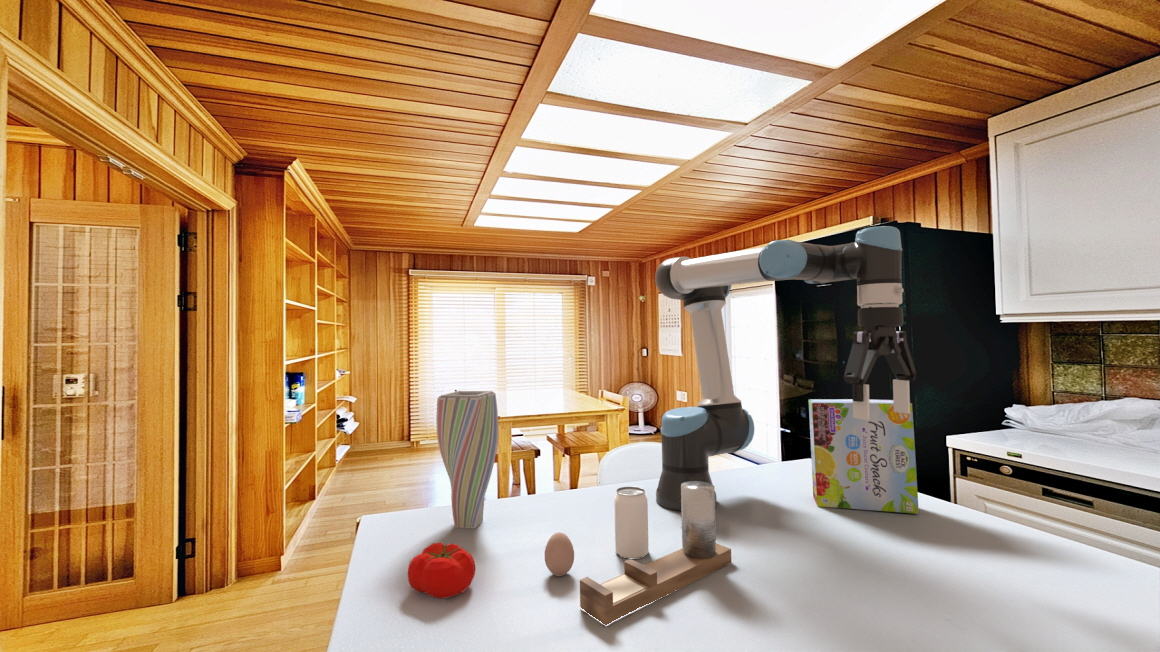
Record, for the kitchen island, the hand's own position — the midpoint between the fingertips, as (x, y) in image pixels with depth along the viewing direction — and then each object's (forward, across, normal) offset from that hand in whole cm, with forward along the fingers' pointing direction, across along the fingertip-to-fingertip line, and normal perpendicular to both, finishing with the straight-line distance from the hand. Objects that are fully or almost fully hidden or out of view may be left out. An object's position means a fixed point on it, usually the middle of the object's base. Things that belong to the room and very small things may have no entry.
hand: (882, 415), depth 93 cm
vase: (+27, -66, +56) cm, 91 cm away
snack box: (+26, +20, +17) cm, 37 cm away
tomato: (+27, -78, +29) cm, 88 cm away
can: (+26, -43, +24) cm, 56 cm away
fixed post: (+24, -35, +13) cm, 44 cm away
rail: (+26, -45, +12) cm, 53 cm away
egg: (+26, -59, +23) cm, 69 cm away
